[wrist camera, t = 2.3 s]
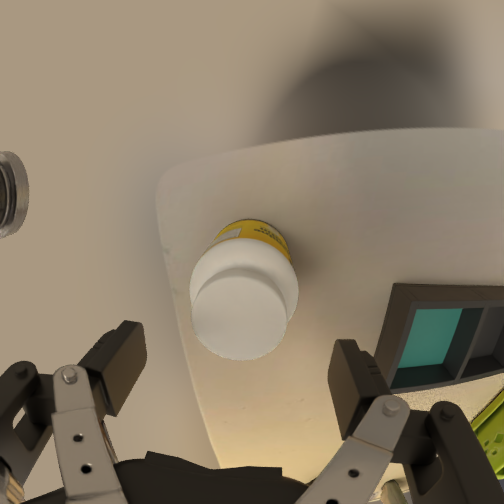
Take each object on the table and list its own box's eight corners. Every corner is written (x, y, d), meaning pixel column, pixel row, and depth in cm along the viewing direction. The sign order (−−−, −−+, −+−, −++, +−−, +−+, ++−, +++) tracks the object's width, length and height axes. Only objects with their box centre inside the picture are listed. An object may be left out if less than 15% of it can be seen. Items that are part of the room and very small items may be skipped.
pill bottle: (294, 283, 25) (314, 365, 14) (221, 296, 26) (195, 380, 15) (280, 210, 24) (296, 245, 13) (203, 225, 24) (156, 271, 13)
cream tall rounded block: (410, 477, 35) (421, 507, 28) (393, 490, 37) (402, 520, 29) (390, 478, 35) (401, 510, 27) (372, 491, 36) (380, 523, 29)
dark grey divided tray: (368, 371, 28) (379, 396, 24) (393, 283, 25) (411, 301, 21) (490, 356, 27) (505, 372, 24) (516, 285, 25) (535, 298, 21)
